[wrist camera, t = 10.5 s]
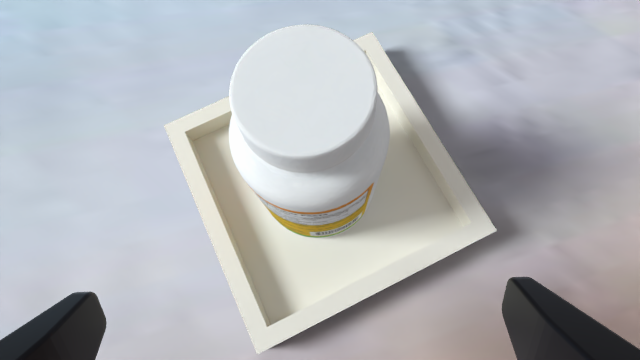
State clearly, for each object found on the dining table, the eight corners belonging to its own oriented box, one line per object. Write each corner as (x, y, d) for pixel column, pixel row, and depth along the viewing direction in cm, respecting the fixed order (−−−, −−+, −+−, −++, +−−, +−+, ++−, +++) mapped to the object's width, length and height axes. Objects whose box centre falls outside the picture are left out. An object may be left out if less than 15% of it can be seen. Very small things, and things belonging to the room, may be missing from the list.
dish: (482, 236, 19) (496, 230, 18) (264, 349, 18) (257, 354, 17) (369, 52, 23) (372, 31, 21) (177, 139, 22) (164, 125, 20)
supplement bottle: (297, 118, 21) (265, -26, 12) (391, 163, 20) (438, 46, 11) (243, 207, 20) (161, 126, 10) (341, 260, 19) (346, 222, 9)
